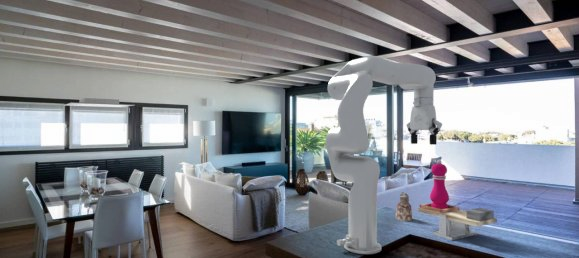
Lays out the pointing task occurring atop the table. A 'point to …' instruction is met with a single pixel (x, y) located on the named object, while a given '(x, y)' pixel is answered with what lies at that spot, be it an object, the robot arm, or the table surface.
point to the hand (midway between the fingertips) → (423, 144)
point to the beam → (462, 214)
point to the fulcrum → (453, 229)
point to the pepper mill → (439, 187)
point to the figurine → (404, 208)
